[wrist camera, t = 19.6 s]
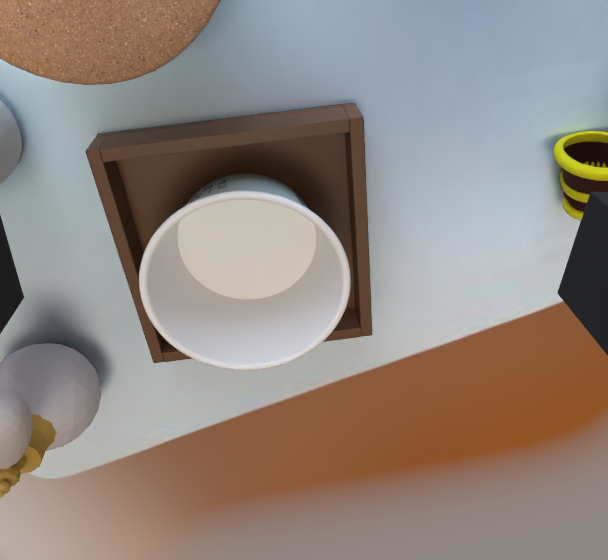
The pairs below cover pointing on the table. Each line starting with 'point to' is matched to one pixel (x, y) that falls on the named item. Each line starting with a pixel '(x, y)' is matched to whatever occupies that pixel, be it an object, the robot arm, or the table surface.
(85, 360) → the perfume bottle
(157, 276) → the food container
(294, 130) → the tray
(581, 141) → the opera glasses
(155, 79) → the table surface
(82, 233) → the table surface
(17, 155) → the beverage can
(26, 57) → the lidded bowl
